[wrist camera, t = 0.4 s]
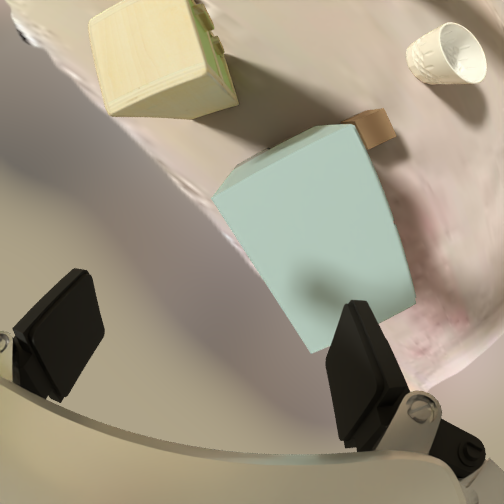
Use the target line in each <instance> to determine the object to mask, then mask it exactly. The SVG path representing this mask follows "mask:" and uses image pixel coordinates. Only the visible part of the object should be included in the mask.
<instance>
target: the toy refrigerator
mask: <svg viewBox="0 0 504 504" xmlns="http://www.w3.org/2000/svg"><path fill="white" fill-rule="evenodd" d="M211 30H214V25H213V22H212V20H211V18H210V16H209V14H208V12H207V10H206V8H205V6H204V4H198V5H196V4H195V2H194V0H123V1H121V2H119V3H117V4H115V5H114V6H112V7H110V8H108V9H106V10H105V11H103V12H101V13H100V14H98V15H96V16H95V17H93V18H92V19H91V20H90V21H89V23H88V32H89V39H90V44H91V49H92V54H93V58H94V63H95V67H96V72H97V76H98V80H99V85H100V89H101V93H102V97H103V101H104V104H105V108H106V110H107V113H108V114H109V115H110V116H112V117H157V118H174V119H187V120H192V119H195V118H198V117H201V116H204V115H207V114H210V113H213V112H216V111H220V110H223V109H226V108H230V107H233V106H237V105H239V102H238V98H237V95H236V92H235V89H234V85H233V82H232V79H231V76H230V72H229V69H228V66H227V63H226V60H225V56H224V49H223V46H222V44H221V42H220V40H219V37H218V36H215V37H214V35H213V33H212V32H211Z"/></svg>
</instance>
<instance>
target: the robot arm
mask: <svg viewBox="0 0 504 504" xmlns="http://www.w3.org/2000/svg"><path fill="white" fill-rule="evenodd" d="M13 331H14V333H15V337H14V338H13V337H12V336H11V334H10V333H8V332H6V331H0V504H504V471H503V470H502V469H501V468H499V466H498V465H497V464H495V462H493V461H492V460H491V459H490V458H488V459H487V460H486V459H485V455H486V453H485V448H484V445H483V444H482V442H481V441H480V440H479V439H478V438H477V437H475V436H473V435H471V434H469V433H467V432H465V431H464V430H462V429H460V428H458V427H456V426H454V425H452V424H450V423H448V422H447V421H445V420H443V419H441V416H442V410H441V406H440V404H439V402H438V400H436V399H435V397H434V396H432V395H431V394H429V393H427V392H424V391H413V392H410V390H409V388H408V386H407V383H406V381H405V379H404V376H403V374H402V372H401V369H400V367H399V365H398V363H397V360H396V358H395V356H394V354H393V352H392V349H391V347H390V345H389V343H388V341H387V339H386V338H385V336H384V334H383V332H382V330H381V328H380V326H379V324H378V322H377V320H376V318H375V316H374V314H373V312H372V310H371V308H370V306H369V304H368V302H367V301H365V300H350V302H349V304H347V303H346V304H345V305H344V307H343V310H342V313H341V316H340V319H339V322H338V325H337V328H336V331H335V334H334V337H333V340H332V343H331V346H330V349H329V351H328V354H327V357H326V370H327V375H328V380H329V385H330V391H331V396H332V401H333V407H334V412H335V418H336V424H337V429H338V435H339V439H340V440H341V441H344V445H345V448H353V447H356V448H357V452H353V453H337V454H315V455H278V454H256V453H242V452H232V451H223V450H215V449H208V448H202V447H196V446H190V445H184V444H179V443H174V442H169V441H164V440H160V439H156V438H152V437H148V436H144V435H140V434H136V433H133V432H130V431H126V430H123V429H120V428H117V427H113V426H110V425H107V424H104V423H102V422H98V421H96V420H93V419H90V418H88V417H85V416H82V415H80V414H77V413H75V412H73V411H70V410H68V409H65V408H63V407H61V406H59V405H56V404H54V403H52V402H50V401H48V400H46V398H47V396H48V395H49V397H50V398H51V399H53V400H55V401H57V402H59V403H61V402H62V400H63V398H64V397H66V396H68V394H69V393H70V391H71V389H72V387H73V386H74V384H75V382H76V381H77V379H78V377H79V376H80V374H81V372H82V371H83V369H84V367H85V366H86V364H87V362H88V361H89V359H90V358H91V356H92V354H93V353H94V351H95V350H96V348H97V346H98V345H99V343H100V342H101V340H102V339H103V337H104V332H105V329H104V325H103V322H102V318H101V315H100V311H99V306H98V302H97V297H96V293H95V288H94V284H93V279H92V276H91V275H90V274H89V273H88V271H87V270H82V269H75V268H74V269H72V270H71V271H70V272H69V273H68V274H67V275H66V276H65V277H63V278H62V279H61V280H60V281H59V282H58V283H57V284H56V285H55V286H54V287H53V288H52V289H51V290H50V291H49V292H48V293H47V294H46V295H44V296H43V297H42V298H41V299H40V300H39V302H37V303H36V304H35V305H34V306H33V308H31V309H30V310H29V311H28V313H27V314H26V315H25V316H24V317H23V318H22V319H21V320H20V321H19V322H18V323H17V324H16V325H15V326H14V327H13Z"/></svg>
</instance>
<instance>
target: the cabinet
mask: <svg viewBox="0 0 504 504" xmlns="http://www.w3.org/2000/svg"><path fill="white" fill-rule="evenodd" d="M211 199H212V201H213V202H214V204H215V205H216V207H217V208H218V210H219V211H220V213H221V215H222V216H223V218H224V219H225V221H226V222H227V224H228V226H229V227H230V229H231V230H232V232H233V233H234V235H235V237H236V238H237V240H238V241H239V243H240V244H241V246H242V247H243V249H244V251H245V252H246V254H247V255H248V257H249V258H250V260H251V261H252V263H253V265H254V266H255V268H256V269H257V271H258V272H259V274H260V275H261V277H262V279H263V280H264V282H265V283H266V285H267V286H268V288H269V289H270V291H271V292H272V294H273V296H274V297H275V299H276V300H277V302H278V303H279V305H280V306H281V308H282V310H283V311H284V312H285V314H286V316H287V317H288V319H289V320H290V322H291V323H292V325H293V326H294V328H295V329H296V331H297V332H298V334H299V336H300V337H301V339H302V340H303V342H304V343H305V345H306V347H307V348H308V349H309V351H310V353H311V354H312V353H314V352H317V351H319V350H321V349H324V348H326V347H329V346H331V343H332V340H333V337H334V334H335V331H336V328H337V325H338V322H339V319H340V316H341V313H342V310H343V307H344V305H345V304H346V303H347V304H349V302H350V300H365V301H367V302H368V304H369V306H370V308H371V310H372V312H373V314H374V316H375V318H376V320H377V322H378V324H379V323H381V322H383V321H385V320H387V319H389V318H391V317H392V316H394V315H396V314H398V313H400V312H402V311H404V310H406V309H408V308H409V307H411V306H413V305H415V304H416V301H415V298H416V295H415V290H414V286H413V282H412V278H411V274H410V270H409V267H408V263H407V260H406V256H405V253H404V249H403V246H402V243H401V239H400V236H399V233H398V230H397V227H396V225H395V224H394V223H393V221H394V218H393V215H392V212H391V210H390V207H389V204H388V201H387V199H386V196H385V193H384V191H383V188H382V186H381V183H380V181H379V178H378V176H377V173H376V171H375V169H374V166H373V164H372V162H371V159H370V157H369V155H368V153H367V151H366V148H365V146H364V144H363V142H362V140H361V138H360V136H359V134H358V131H357V129H356V127H355V125H352V124H339V125H322V126H314V127H312V128H310V129H308V130H306V131H304V132H302V133H300V134H298V135H296V136H294V137H292V138H291V139H289V140H287V141H285V142H283V143H281V144H279V145H277V146H275V147H273V148H272V149H270V150H269V149H268V148H267V149H265V150H263V151H261V152H259V153H258V154H256V155H254V156H252V157H250V158H249V159H247V160H245V161H243V162H242V163H240V164H238V165H237V166H236V167H235V168H234V170H233V171H232V172H231V173H230V175H229V176H228V177H227V178H226V180H225V181H224V182H223V184H222V185H221V186H220V187H219V189H218V190H217V191H216V193H215V194H214V195H213V197H212V198H211Z"/></svg>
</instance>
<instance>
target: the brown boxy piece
mask: <svg viewBox="0 0 504 504" xmlns="http://www.w3.org/2000/svg"><path fill="white" fill-rule="evenodd" d="M341 124H352V125H355V127H356V129H357V131H358V134H359V136H360V138H361V140H362V142H363V144H364V146H365V148H366V149H368V150H369V149H371V148H373V147H375V146H377V145H379V144H381V143H384V142H386V141H388V140H390V139H392V138H394V137H396V134H395V132H394V129H393V127H392V125H391V123H390V120H389V118H388V116H387V114H386V112H385V110H384V108H382V109H375V110H367V111H364V112H362V113H360V114H357V115H355V116H353V117H351V118H349V119H346V120H344V121H342V122H341Z"/></svg>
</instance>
